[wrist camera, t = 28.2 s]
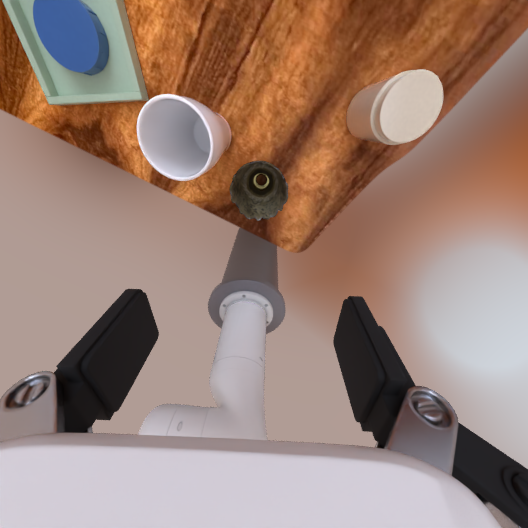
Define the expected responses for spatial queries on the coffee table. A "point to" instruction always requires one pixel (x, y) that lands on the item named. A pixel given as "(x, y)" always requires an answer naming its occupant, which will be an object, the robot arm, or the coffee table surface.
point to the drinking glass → (181, 136)
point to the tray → (77, 84)
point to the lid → (72, 34)
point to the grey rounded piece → (259, 190)
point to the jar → (396, 108)
